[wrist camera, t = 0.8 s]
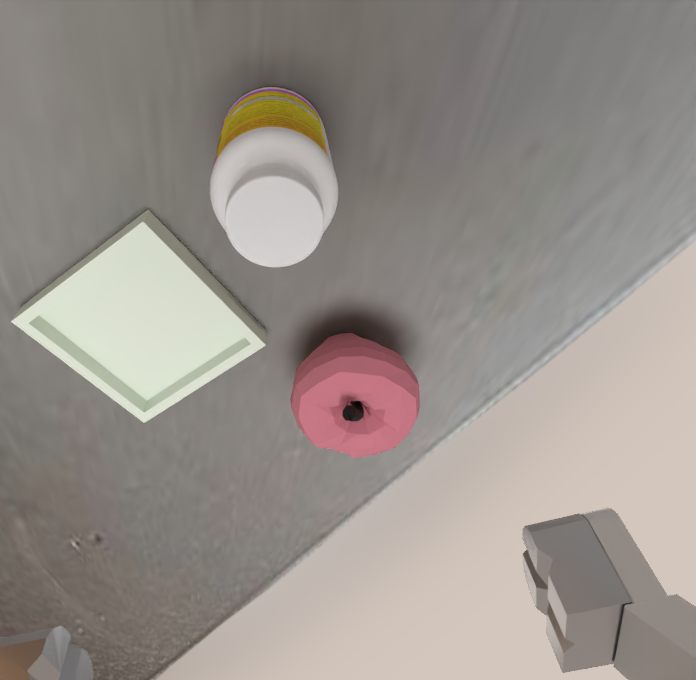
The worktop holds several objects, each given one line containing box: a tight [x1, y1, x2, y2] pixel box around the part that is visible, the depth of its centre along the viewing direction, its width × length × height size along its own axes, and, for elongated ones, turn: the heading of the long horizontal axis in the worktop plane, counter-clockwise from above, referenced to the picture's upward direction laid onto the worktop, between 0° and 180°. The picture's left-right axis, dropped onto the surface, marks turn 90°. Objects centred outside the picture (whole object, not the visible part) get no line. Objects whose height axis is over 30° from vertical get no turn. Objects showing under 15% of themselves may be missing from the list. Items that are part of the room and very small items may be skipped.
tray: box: [11, 209, 266, 423], centre depth 44 cm, size 13×13×2 cm
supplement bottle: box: [210, 87, 338, 267], centre depth 33 cm, size 7×7×13 cm
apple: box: [291, 333, 420, 458], centre depth 44 cm, size 10×9×10 cm
